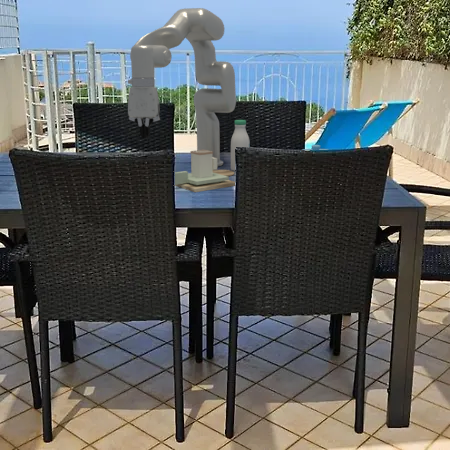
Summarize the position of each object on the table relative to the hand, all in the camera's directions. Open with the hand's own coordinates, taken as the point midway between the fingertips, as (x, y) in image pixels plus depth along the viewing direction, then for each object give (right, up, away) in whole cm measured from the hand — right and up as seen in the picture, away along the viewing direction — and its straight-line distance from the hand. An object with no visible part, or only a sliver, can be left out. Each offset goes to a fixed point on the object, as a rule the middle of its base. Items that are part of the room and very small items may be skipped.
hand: (145, 137), depth 212 cm
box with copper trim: (+20, -12, +11) cm, 26 cm away
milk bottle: (+34, -8, +38) cm, 51 cm away
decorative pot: (+61, -14, +15) cm, 64 cm away
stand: (+19, -15, +11) cm, 27 cm away
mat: (+25, -10, +30) cm, 40 cm away
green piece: (+16, -15, +9) cm, 23 cm away
